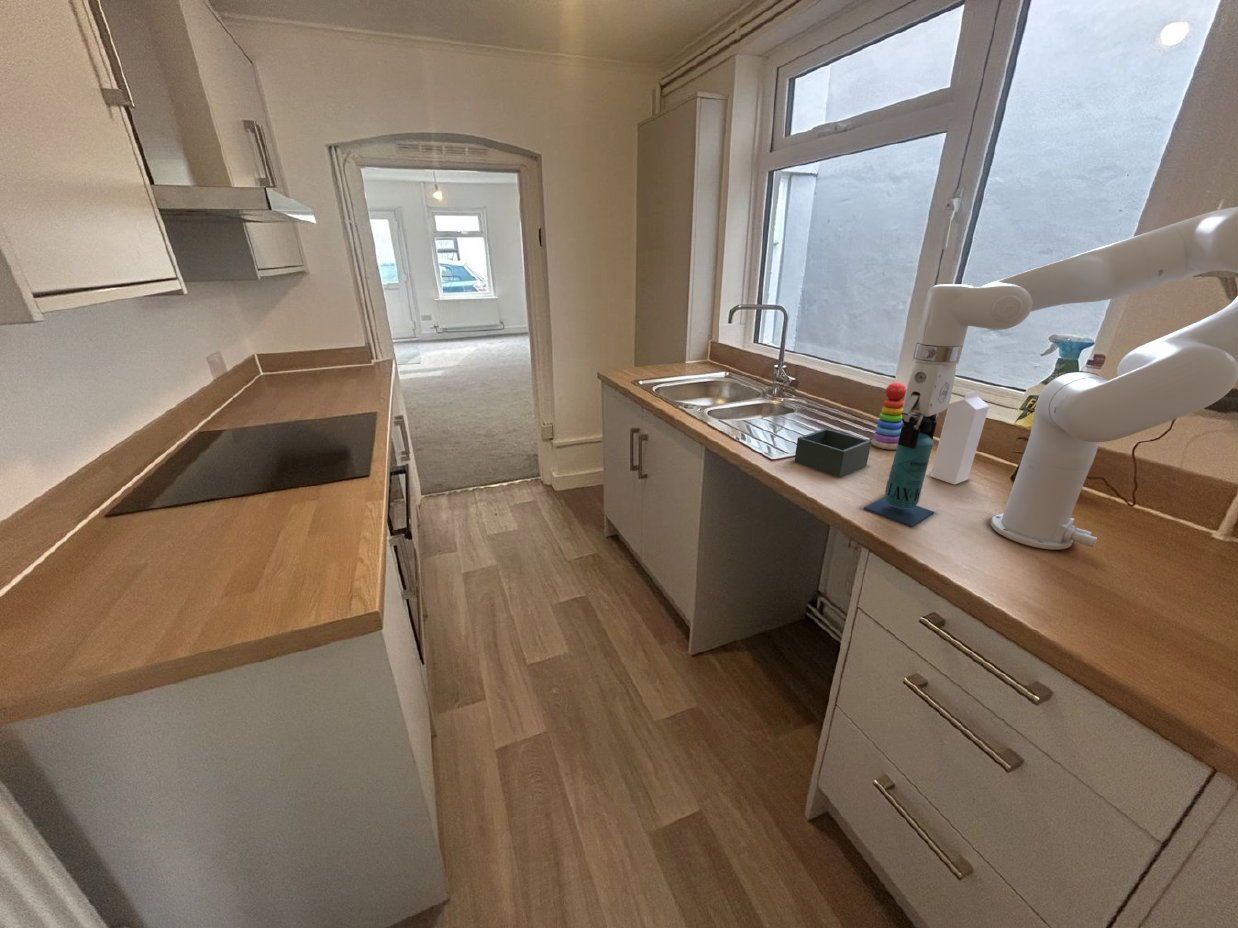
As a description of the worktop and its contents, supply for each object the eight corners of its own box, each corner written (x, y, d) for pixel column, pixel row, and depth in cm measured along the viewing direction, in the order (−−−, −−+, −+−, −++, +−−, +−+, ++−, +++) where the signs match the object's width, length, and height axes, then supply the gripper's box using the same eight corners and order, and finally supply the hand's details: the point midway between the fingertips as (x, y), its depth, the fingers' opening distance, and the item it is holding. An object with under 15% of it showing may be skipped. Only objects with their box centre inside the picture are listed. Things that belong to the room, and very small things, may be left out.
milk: (929, 476, 121) (951, 390, 113) (943, 471, 124) (965, 387, 116) (955, 485, 116) (979, 395, 108) (968, 479, 119) (993, 392, 111)
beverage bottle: (875, 503, 106) (894, 415, 98) (899, 499, 107) (919, 412, 100) (899, 517, 100) (921, 425, 92) (924, 512, 102) (948, 421, 94)
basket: (866, 465, 128) (871, 440, 125) (839, 477, 120) (844, 451, 118) (821, 451, 137) (825, 428, 135) (794, 462, 130) (797, 437, 128)
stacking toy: (894, 441, 145) (907, 380, 138) (906, 451, 138) (921, 386, 131) (866, 441, 146) (879, 379, 139) (877, 450, 138) (890, 386, 131)
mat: (933, 513, 103) (934, 511, 103) (911, 527, 97) (912, 525, 97) (886, 496, 110) (886, 495, 110) (863, 509, 105) (864, 507, 105)
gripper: (938, 361, 84) (914, 457, 90) (977, 351, 93) (953, 439, 100) (894, 356, 89) (875, 446, 96) (935, 347, 99) (915, 430, 105)
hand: (915, 442), depth 98 cm, fingers closed on beverage bottle, 6 cm apart
